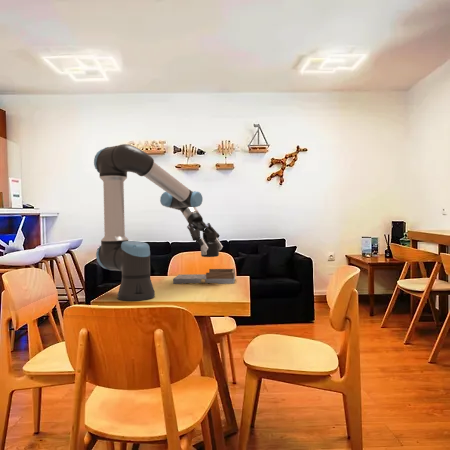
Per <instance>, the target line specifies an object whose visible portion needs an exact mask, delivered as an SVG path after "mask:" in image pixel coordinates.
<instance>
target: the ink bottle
mask: <svg viewBox="0 0 450 450" xmlns="http://www.w3.org/2000/svg"><path fill="white" fill-rule="evenodd" d="M216 232H217V231H216ZM216 232H202V238H203V240H204V242H205V243H206V245H207V246H208V250H207V251H206V252H205V251H204V250H203V248H202V246H200V256H201V257H203V258H215V257H217V258H218V257H219V255H220V250H219V244H218V242H217V241H216V238H217V237H216Z"/></svg>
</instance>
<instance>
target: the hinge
mask: <svg viewBox="0 0 450 450" xmlns="http://www.w3.org/2000/svg"><path fill="white" fill-rule="evenodd" d="M235 280H236V275H235V276H234V279H206V273H205V274H196V273H195V274H178V275H176V276H175V277H174V278H172V284H175V285H177V284H178V285H179V284H180V285H187V284H186V283H202V285H204V283H218V285H221V284H222V285H223V284H224V285H226V284H227V285H228V284H232V285H233V284H235ZM182 283H183V284H182ZM184 283H185V284H184Z"/></svg>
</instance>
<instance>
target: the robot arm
mask: <svg viewBox="0 0 450 450" xmlns="http://www.w3.org/2000/svg"><path fill="white" fill-rule="evenodd" d="M93 159H94V160H93V166H94V169H95V170H96V171H97V173H99V179H100V180H101V181H102V183H103V186H102V187H103V220H104V221H103V222H104V223H103V224H104V228H103V229H104V231H103V232H104V237H103V238H102V239H101V240H100V243H101V244H100V245H99V246H98V248H97V250H96V254H95V258H96V261H97V264H98V265H99V266H100V267H102V268H103V269H105V270H109V271H117V272H118V271H119V272H121V281H120V284H119V288H118V292H117V299H118V300H120V301H127V302H130V301H131V302H133V301H134V302H136V301H138V302H139V301H144V300H151V299H153V298H155V297H156V295H155V294H156V293H155V289H154V286H153V282H152V280H151V250H150V249H151V248H150V245H149V244H148V243H147V242H143V241H138V240H137V241H135V240H129V238H128V237H126V234H125V232H126V231H125V228H126V225H125V189H124V185H125V183H124V182H125V181H126V180H127V179H128V172H129V173H133V174H136V175H138V176H139V177H145V178H146V179H147V180H149V181H150V182H152V183H153V184H154V185H156V186H157V187H158V188H160V189H162V190H163V191H164V192H163V193H162V194H161V196H160V198H159V201H160V204H161V205H162V206H163V207H165V208H170V209H173V210H178V211H180V212H181V213H182V215H183V217H184V219H186V221H187V223H188V225H187V226H186V229H188V231H189V233H190V236H191V239H192V241H194V242H195V243H197V244H199V246H200V247H201V246H202V248H203V250H204V251H205V252H206V251H207V250H208V246H207V245H206V243H205V242H204V240H203V237H201V232H202V233H203V232H216V237H217V238H216V241H217V242H218V244H219V251H221V250H222V249H223V247H224V246H223V245H222V243H221V241H220V239H219V238H220V234H219V233H218V231H216V229H214V227H212V224H210V222H207V223H205V222H204V219H203V216H202V215H201V213H200V212H199V210H198V209H197V207H200V206H201V205H202V203H203V194H202V193H201V192H200V191H196V190H195V191H193V190H191V189H189V187H187V186H186V185H184V183H182V182H180V181H179V180H178V179H177V178H176V177H174V176H173V175H171V173H169V172H167V170H165V169H164V168H163V167H161V166H160V165H159V164H157V163H156V162H155V159H154V158H153V157H152V156H151V155H149V154H148V153H146V152H145V151H144V150H142V149H141V148H138V147H137V146H135V145H131V144H126V143H122V144H119V145H113V146H107V147H104V148H101V149H100V150H99V151H97V152H96V154H95V155H94V158H93Z"/></svg>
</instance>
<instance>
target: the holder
mask: <svg viewBox="0 0 450 450" xmlns="http://www.w3.org/2000/svg"><path fill="white" fill-rule="evenodd" d="M205 274H206V279H234V276H235V277H236V269H235V268H209V271H208V272H205Z"/></svg>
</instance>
